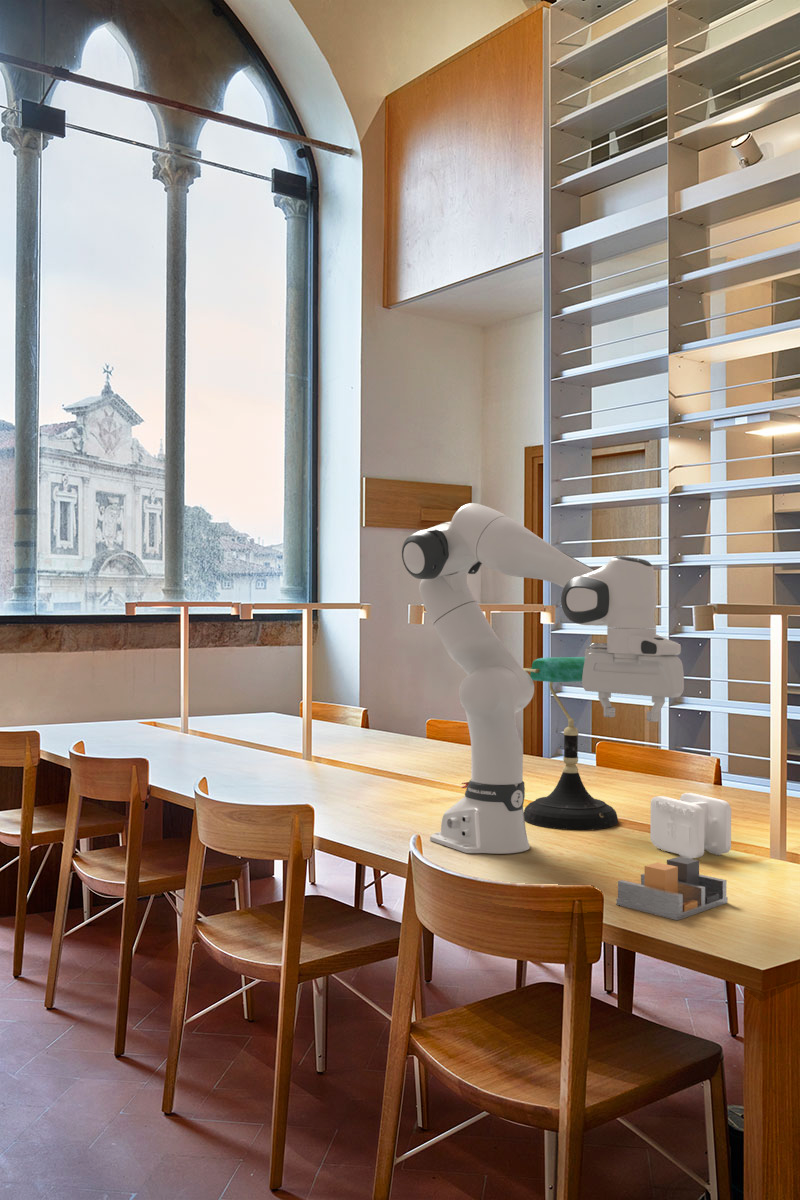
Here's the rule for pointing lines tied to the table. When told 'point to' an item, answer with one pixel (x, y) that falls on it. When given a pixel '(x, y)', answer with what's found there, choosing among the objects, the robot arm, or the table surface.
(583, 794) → the banker's lamp
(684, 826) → the cable organizer
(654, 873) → the orange block
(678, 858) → the dark gray block
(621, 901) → the gray divided tray
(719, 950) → the table surface
